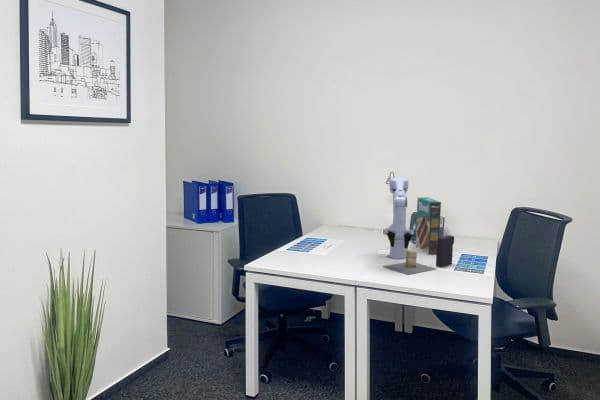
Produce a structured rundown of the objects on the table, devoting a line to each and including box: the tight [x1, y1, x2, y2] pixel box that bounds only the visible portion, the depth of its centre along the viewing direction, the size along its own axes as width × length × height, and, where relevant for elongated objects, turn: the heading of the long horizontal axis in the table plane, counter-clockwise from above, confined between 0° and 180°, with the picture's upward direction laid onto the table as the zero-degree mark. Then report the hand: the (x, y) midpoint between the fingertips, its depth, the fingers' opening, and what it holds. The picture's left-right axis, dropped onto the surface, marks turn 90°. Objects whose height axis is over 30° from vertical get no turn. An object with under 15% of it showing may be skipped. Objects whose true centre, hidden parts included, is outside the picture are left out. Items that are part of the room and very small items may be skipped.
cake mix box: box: [415, 196, 442, 256], centre depth 303 cm, size 22×6×30 cm, turn 6°
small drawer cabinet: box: [435, 234, 455, 268], centre depth 270 cm, size 11×4×15 cm, turn 134°
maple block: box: [405, 249, 418, 268], centre depth 266 cm, size 4×4×8 cm
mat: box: [382, 261, 437, 276], centre depth 265 cm, size 20×18×1 cm
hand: (399, 247), depth 261 cm, fingers open, 7 cm apart
